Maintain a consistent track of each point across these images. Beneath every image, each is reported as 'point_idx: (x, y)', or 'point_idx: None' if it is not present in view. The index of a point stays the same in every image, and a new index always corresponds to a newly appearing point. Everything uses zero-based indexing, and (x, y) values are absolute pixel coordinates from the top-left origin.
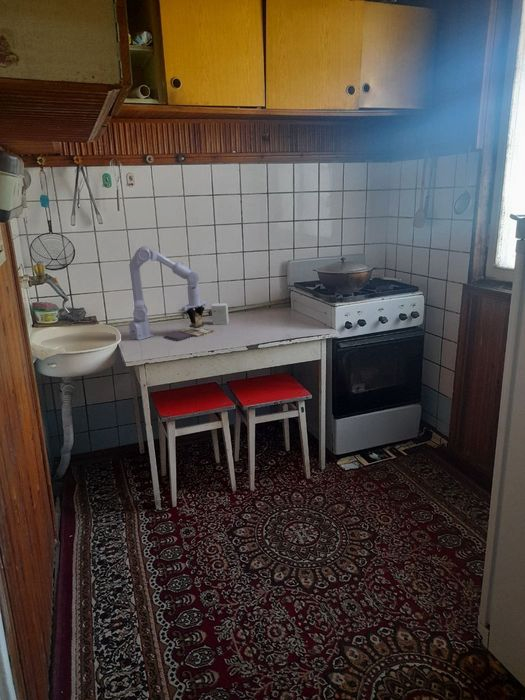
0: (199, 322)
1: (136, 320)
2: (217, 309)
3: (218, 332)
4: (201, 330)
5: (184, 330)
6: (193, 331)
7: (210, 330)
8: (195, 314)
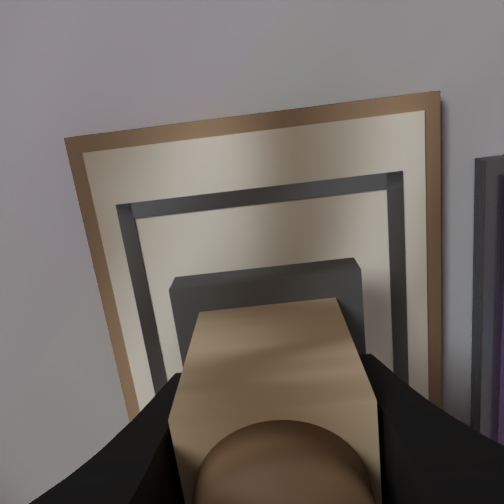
0: (245, 328)
1: None
2: None
3: (44, 36)
4: None
5: None
6: None
7: (113, 172)
8: (351, 489)
